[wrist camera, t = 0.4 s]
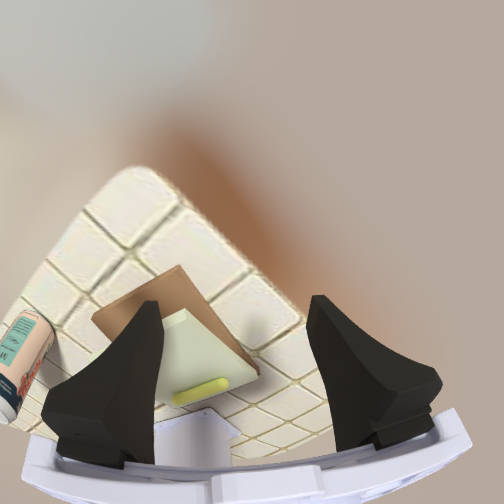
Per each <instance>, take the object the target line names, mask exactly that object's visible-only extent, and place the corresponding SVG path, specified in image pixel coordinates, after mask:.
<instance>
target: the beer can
mask: <svg viewBox="0 0 504 504" xmlns="http://www.w3.org/2000/svg"><path fill="white" fill-rule="evenodd" d="M53 342H54V333H53V330H52V328H51V326H50V324H49V323H48V322H47V321H46V319H44V318H43V317H42V316H41V315H40V314H38V313H37V312H34V311H31V310H24V311H22V312H21V313H20V314H19V316H18V317H17V318H16V319H15V321H14V322H13V324H12V325H11V326H10V328H9V329H8V330H7V332H6V333H5V335H4V336H3V337H2V339H1V340H0V423H1V424H5V425H9V423H11V422H13V421H14V420H16V418H17V415H18V413H19V411H20V408H21V406H22V404H23V401H24V399H25V397H26V395H27V393H28V390H29V388H30V386H31V384H32V382H33V380H34V378H35V376H36V374H37V372H38V370H39V368H40V366H41V364H42V362H43V360H44V358H45V356H46V355H47V353H48V351H49V349H50V347H51V345H52V344H53Z"/></svg>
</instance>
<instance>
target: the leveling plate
mask: <svg viewBox="0 0 504 504" xmlns="http://www.w3.org/2000/svg"><path fill="white" fill-rule="evenodd" d="M162 323H163V327H164V332H165V333H164V347H163V354H162V359H161V365H160V370H159V375H158V380H157V386H156V392H155V400H158V401H160V402H162V403H164V404H166V405H169V406H171V407H173V408H175V409H177V408H181V407H184V406H188V405H191V404H194V403H197V402H200V401H203V400H205V399H208V398H211V397H214V396H217V395H220V394H222V393H225V392H228V391H230V390H233V389H236V388H238V387H241V386H243V385H246V384H248V383H251V382H253V381H255V380H257V379H258V376H257V372H256V370H255V369H254V368H253V367H251V366H250V365H249V364H248V363H246V362H245V361H244V360H243V359H242V358H240V357H239V356H238V355H237V354H236V353H235V352H233V351H232V350H231V349H230V348H229V347H228V346H226V345H225V344H224V343H223V342H222V341H221V340H220V339H218V338H217V337H216V336H215V335H214V334H213V333H212V332H210V331H209V330H208V329H207V328H206V327H205V326H204V325H203V324H202V323H201V322H199V321H198V320H197V319H196V318H195V317H194V316H193V315H192V314H191V313H190V312H189V311H188V310H186V309H185V308H184V309H182V310H180V311H178V312H176V313H174V314H172V315H170V316H168V317H166V318H164V319H162ZM107 347H108V346H106V347H104V348H102V349H100V350H98V351H96V352H94V353H92V354H91V356H90V363H91V362H92V361H94V360H95V359H96V358H97V357H98V356H99V355H100V354H101V353H102V352H104V351H105V350H106V348H107Z"/></svg>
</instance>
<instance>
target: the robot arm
mask: <svg viewBox="0 0 504 504" xmlns="http://www.w3.org/2000/svg"><path fill="white" fill-rule="evenodd" d="M306 330H307V335H308V339H309V343H310V347H311V349H312V352H313V355H314V358H315V360H316V363H317V366H318V368H319V371H320V374H321V376H322V379H323V382H324V385H325V389H326V393H327V397H328V402H329V406H330V411H331V417H332V422H333V428H334V435H335V442H336V451H337V453H333V454H328V455H323V456H318V457H314V458H307V459H302V460H296V461H288V462H281V463H273V464H263V465H252V466H236V467H232V458H231V448H230V439H231V438H234V437H237V436H240V435H241V434H242V433H241V431H239V430H238V429H237V428H235V427H234V426H233V425H232V424H230V423H229V422H228V421H226V420H225V419H224V418H223V417H221V416H220V415H219V414H218V413H216V412H215V411H214V410H213V409H211V408H206V409H203V410H199V411H196V412H193V413H190V414H187V415H183V416H180V417H177V418H173V419H170V420H166V421H162V422H158V423H155V424H154V404H155V392H156V386H157V380H158V375H159V370H160V365H161V359H162V354H163V347H164V333H165V332H164V327H163V323H162V318H161V314H160V309H159V304H158V301H144V303H143V304H142V305H141V307H140V308H139V309H138V311H137V312H136V313H135V315H134V316H133V317H132V319H131V320H130V321H129V323H128V324H127V325H126V327H125V328H124V329H123V330H122V332H121V333H120V334H119V335H118V336H117V337H116V339H115V340H114V341H113V342H112V343H111V344H110V345H109V346H108V347H107V348H106V350H105V351H104V352H102V353H101V354H100V355H99V356H98V357H97V358H96V359H95V360H94V361H92V362H91V363H90V364H89V365H88V366H86V367H85V368H84V369H83V370H81V371H80V372H78V373H77V374H75V375H74V376H72V377H71V378H69V379H68V380H66V381H64V382H63V383H61V384H59V385H57V386H55V387H54V388H52V389H50V390H49V392H48V394H47V397H46V400H45V403H44V406H43V409H42V412H41V417H42V419H43V421H44V422H45V423H46V424H47V425H48V426H49V427H50V428H51V429H52V430H53V431H54V432H55V433H56V434H57V435H58V436H59V439H58V443H57V442H56V441H54V440H52V439H49V438H46V437H43V436H39V435H36V434H32V435H31V438H30V442H29V445H28V449H27V453H26V457H25V461H24V466H23V470H22V475H21V478H22V480H24V481H25V482H27V483H29V484H30V485H32V486H34V487H36V488H37V489H39V490H41V491H43V492H45V493H47V494H49V495H51V496H53V497H56V498H58V499H61V500H64V501H67V502H70V503H73V504H362V503H365V502H367V501H370V500H373V499H376V498H378V497H381V496H383V495H386V494H388V493H391V492H393V491H395V490H398V489H400V488H402V487H405V486H407V485H409V484H411V483H413V482H415V481H417V480H420V479H422V478H424V477H426V476H428V475H430V474H431V473H434V472H435V471H437V470H439V469H441V468H443V467H445V466H446V465H448V464H449V463H451V462H452V461H453V460H455V459H456V458H457V457H459V456H460V455H461V454H463V453H464V452H465V451H467V450H468V449H469V448H471V447H472V445H473V444H472V442H471V440H470V438H469V436H468V434H467V432H466V430H465V428H464V426H463V424H462V422H461V420H460V418H459V416H458V414H457V413H456V411H455V409H454V408H453V407H452V408H450V409H448V410H445V411H443V412H441V413H439V414H437V415H435V416H434V417H432V418H431V416H430V414H429V413H430V412H431V411H432V409H431V407H430V405H429V404H430V403H431V402H432V401H433V400H434V398H435V397H436V396H437V395H438V393H439V392H440V390H441V388H442V385H443V384H442V381H441V379H440V377H439V376H438V374H437V372H436V371H435V369H434V368H432V367H429V366H426V365H423V364H420V363H418V362H415V361H413V360H411V359H408V358H406V357H404V356H402V355H400V354H398V353H396V352H394V351H393V350H390V349H389V348H387V347H385V346H384V345H382V344H381V343H380V342H378V341H377V340H375V339H374V338H372V337H371V336H370V335H368V334H367V333H366V332H364V331H363V330H362V329H361V328H359V327H358V326H357V325H356V324H355V323H353V322H352V321H351V320H350V319H349V318H348V317H347V316H346V315H345V314H344V313H343V312H341V311H340V310H339V309H338V308H337V307H336V306H335V305H334V304H333V303H332V302H331V301H330V300H329V299H328V298H327V297H326V296H325V295H314V296H312V299H311V304H310V309H309V314H308V319H307V323H306ZM154 430H155V440H154Z"/></svg>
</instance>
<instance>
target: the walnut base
mask: <svg viewBox="0 0 504 504" xmlns="http://www.w3.org/2000/svg"><path fill="white" fill-rule="evenodd" d="M144 301H158V304H159V309H160V314H161V318H162V319H164V318H166V317H168V316H170V315H172V314H174V313H176V312H178V311H180V310H182V309H184V308H185V309H186V310H188V311H189V312H190V313H191V314H192V315H193V316H194V317H195V318H196V319H197V320H198V321H199V322H201V323H202V324H203V325H204V326H205V327H206V328H207V329H208V330H209V331H210V332H212V333H213V334H214V335H215V336H216V337H217V338H218V339H220V340H221V341H222V342H223V343H224V344H225V345H226V346H228V347H229V348H230V349H231V350H232V351H233V352H235V353H236V354H237V355H238V356H239V357H240V358H242V359H243V360H244V361H245V362H246V363H248V364H249V365H250V366H251V367H253V368H254V369H255V370H256V372H257V376H259V375H260V371H259V367H258V366H257V365H256V364H255V363H254V361H253V360H252V359H251V358H250V356H249V355H248V354H247V353H246V352H245V350H244V349H243V348H242V347H241V345H240V344H239V343H238V342H237V340H236V339H235V338H234V337H233V335H232V334H231V333H230V331H229V330H228V329H227V328H226V326H225V325H224V324H223V323H222V321H221V320H220V319H219V317H218V316H217V315H216V313H215V312H214V311H213V310H212V308H211V307H210V306H209V304H208V303H207V302H206V300H205V299H204V298H203V296H202V295H201V294H200V292H199V291H198V289H197V288H196V287H195V285H194V284H193V283H192V281H191V280H190V279H189V277H188V276H187V274H186V273H185V272H184V270H183V269H182V267H181V266H180V265H177V266H175V267H174V268H172V269H170V270H168V271H166V272H165V273H163V274H161V275H159V276H158V277H156V278H154V279H152V280H150V281H149V282H147V283H145V284H143V285H142V286H140V287H138V288H136V289H135V290H133V291H131V292H129V293H128V294H126V295H124V296H123V297H121V298H119V299H117V300H116V301H114V302H112V303H110V304H109V305H107V306H105V307H104V308H102V309H100V310H98V311H97V312H95V313H94V314H93V316H92V318H91V320H92V321H93V322H94V324H95V325H96V326H97V327H98V328H99V329H100V330H101V331H102V332H103V333H104V334H105V336H106V337H107V338H108V339H109V340H110V341H111V342H113V341H114V340H115V339H116V337H117V336H118V335H119V334H120V333H121V332H122V330H123V329H124V328H125V327H126V325H127V324H128V323H129V321H130V320H131V319H132V317H133V316H134V315H135V313H136V312H137V311H138V309H139V308H140V307H141V305H142V304H143V303H144Z"/></svg>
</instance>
